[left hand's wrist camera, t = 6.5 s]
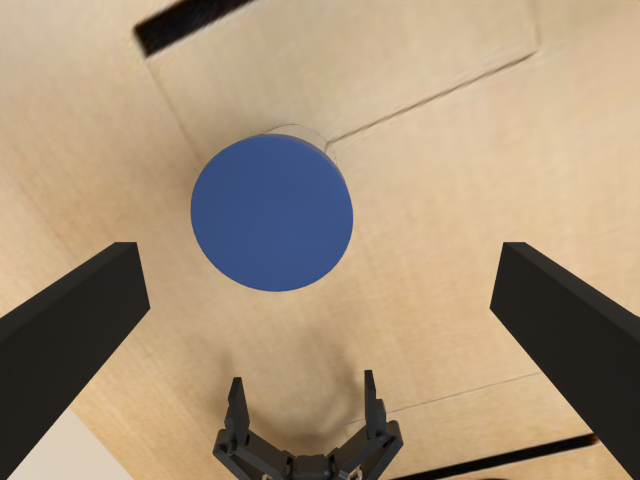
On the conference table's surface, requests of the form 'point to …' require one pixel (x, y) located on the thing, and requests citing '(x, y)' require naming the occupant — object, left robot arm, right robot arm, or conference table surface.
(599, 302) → the left robot arm
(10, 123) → the conference table surface
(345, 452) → the right robot arm
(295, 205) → the lid
